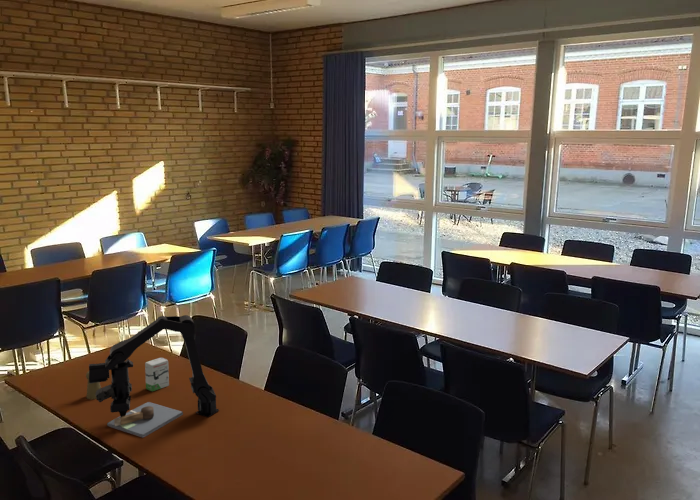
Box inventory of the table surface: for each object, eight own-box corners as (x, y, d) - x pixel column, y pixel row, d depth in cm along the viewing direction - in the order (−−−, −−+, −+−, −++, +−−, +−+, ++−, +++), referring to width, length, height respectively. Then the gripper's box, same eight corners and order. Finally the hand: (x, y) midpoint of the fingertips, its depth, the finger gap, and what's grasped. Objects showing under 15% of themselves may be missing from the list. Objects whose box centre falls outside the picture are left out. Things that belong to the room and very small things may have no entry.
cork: (105, 393, 238) (103, 368, 236) (97, 399, 232) (95, 374, 230) (91, 392, 238) (89, 367, 236) (83, 398, 232) (81, 373, 230)
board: (182, 414, 221) (182, 411, 220) (143, 437, 203) (142, 434, 203) (148, 404, 228) (148, 401, 228) (107, 426, 211) (107, 422, 210)
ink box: (152, 392, 240) (150, 365, 238) (145, 388, 243) (144, 362, 241) (169, 385, 247) (168, 359, 244) (163, 382, 250) (161, 356, 247)
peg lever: (151, 412, 218) (151, 405, 217) (155, 416, 215) (155, 409, 214) (112, 423, 209) (112, 415, 209) (116, 428, 206) (116, 420, 205)
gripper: (98, 371, 214) (101, 409, 217) (93, 392, 196) (96, 434, 200) (130, 367, 217) (133, 405, 220) (127, 388, 200) (130, 429, 203)
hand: (122, 418), depth 211 cm, fingers closed
